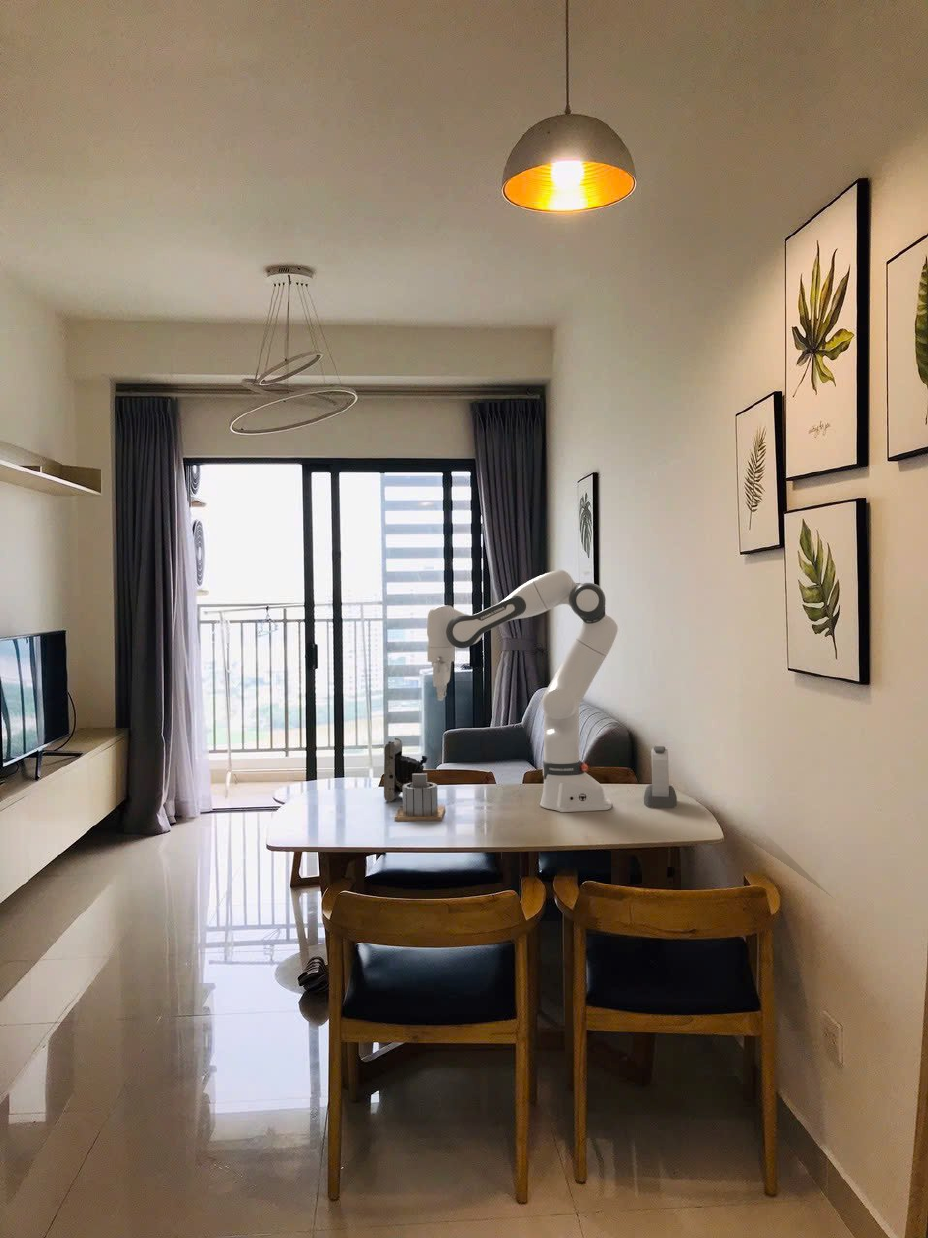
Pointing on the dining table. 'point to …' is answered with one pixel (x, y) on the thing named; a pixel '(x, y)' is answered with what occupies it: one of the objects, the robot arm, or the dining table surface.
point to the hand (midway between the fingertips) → (441, 698)
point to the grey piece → (660, 782)
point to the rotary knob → (419, 781)
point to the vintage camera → (398, 769)
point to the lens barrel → (420, 804)
